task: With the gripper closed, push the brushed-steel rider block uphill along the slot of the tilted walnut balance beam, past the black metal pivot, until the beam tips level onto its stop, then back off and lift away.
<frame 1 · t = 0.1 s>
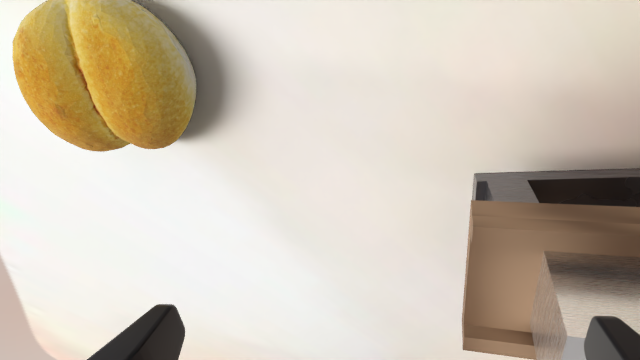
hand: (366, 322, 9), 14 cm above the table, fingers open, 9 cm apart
bread roll: (122, 72, 23), on the table
rider: (610, 295, 19), point 6 cm above the table, tilted 7°, touching beam
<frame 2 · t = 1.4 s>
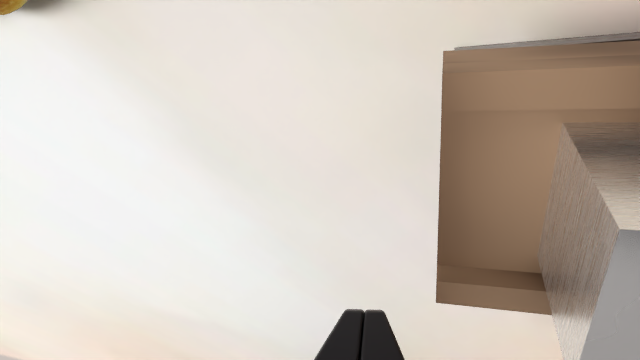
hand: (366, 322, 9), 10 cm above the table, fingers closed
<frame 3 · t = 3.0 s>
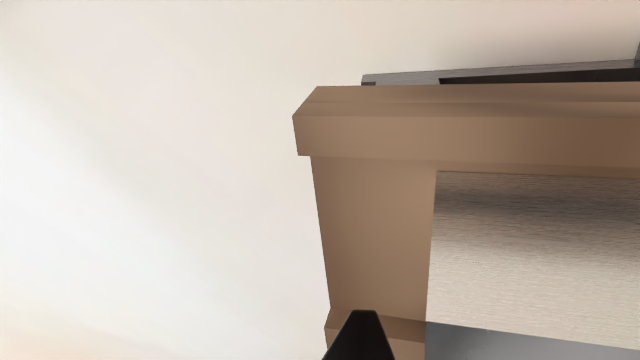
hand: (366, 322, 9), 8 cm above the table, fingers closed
rider: (560, 257, 10), point 6 cm above the table, tilted 6°, touching beam, gripper
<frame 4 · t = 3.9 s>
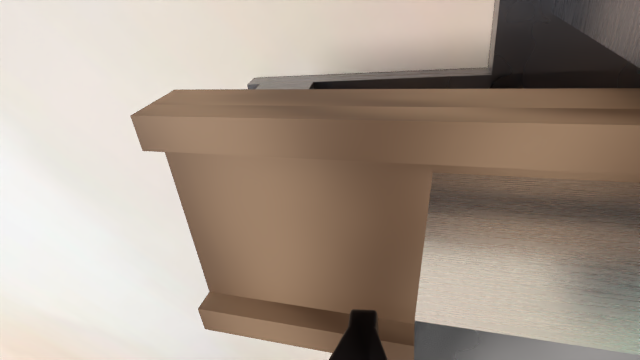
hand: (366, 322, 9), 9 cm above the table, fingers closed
beam: (625, 264, 10), point 6 cm above the table, hinge at -5.7°, touching rider
stand: (551, 145, 15), on the table
rider: (556, 260, 10), point 6 cm above the table, tilted 6°, touching beam, gripper
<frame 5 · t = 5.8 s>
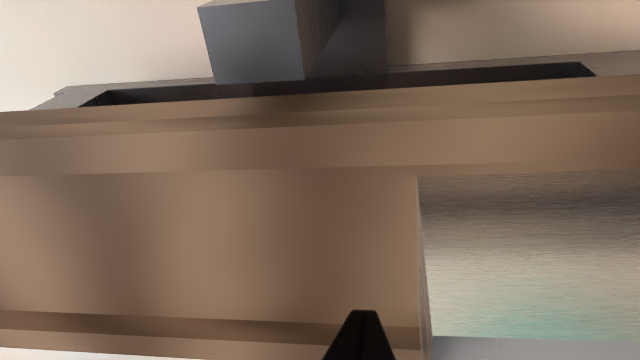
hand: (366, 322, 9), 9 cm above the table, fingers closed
beam: (295, 244, 12), point 6 cm above the table, hinge at 1.2°, touching rider
stand: (328, 142, 17), on the table
rider: (540, 251, 10), point 6 cm above the table, touching beam, gripper
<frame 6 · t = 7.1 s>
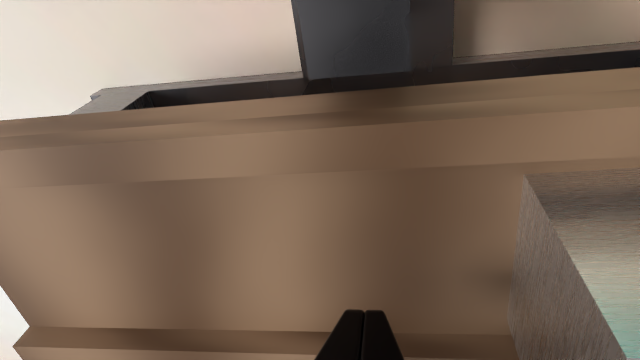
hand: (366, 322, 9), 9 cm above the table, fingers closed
beam: (375, 250, 11), point 6 cm above the table, hinge at 1.2°, touching rider
stand: (380, 141, 16), on the table
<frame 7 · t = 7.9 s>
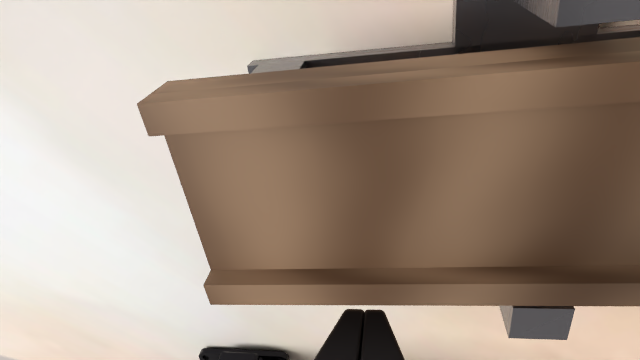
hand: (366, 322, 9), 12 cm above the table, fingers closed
beam: (562, 186, 13), point 6 cm above the table, hinge at 1.2°, touching rider
stand: (510, 107, 18), on the table
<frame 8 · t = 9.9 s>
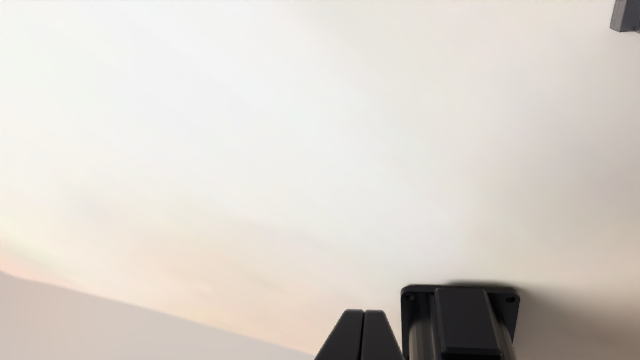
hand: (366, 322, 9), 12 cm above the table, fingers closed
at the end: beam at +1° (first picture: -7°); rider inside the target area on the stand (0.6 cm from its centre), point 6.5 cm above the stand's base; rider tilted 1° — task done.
